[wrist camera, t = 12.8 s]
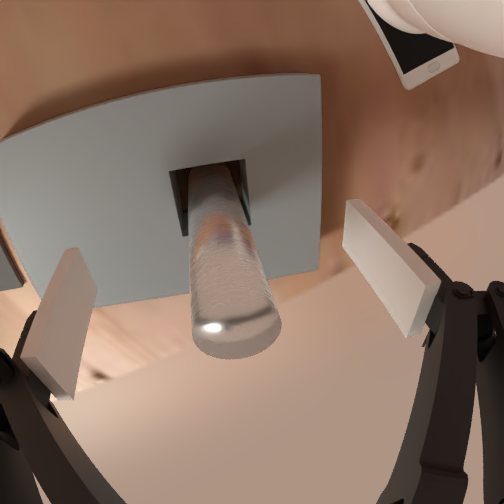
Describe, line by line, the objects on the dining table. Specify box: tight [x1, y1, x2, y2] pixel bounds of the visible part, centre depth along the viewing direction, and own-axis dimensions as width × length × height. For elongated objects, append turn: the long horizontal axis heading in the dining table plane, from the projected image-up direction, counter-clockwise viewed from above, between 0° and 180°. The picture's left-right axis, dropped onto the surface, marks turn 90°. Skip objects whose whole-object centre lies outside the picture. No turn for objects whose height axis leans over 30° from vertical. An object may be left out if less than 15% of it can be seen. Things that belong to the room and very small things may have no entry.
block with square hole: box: [0, 72, 322, 308], centre depth 20 cm, size 22×14×4 cm, turn 95°
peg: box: [188, 162, 281, 359], centre depth 16 cm, size 3×3×14 cm
